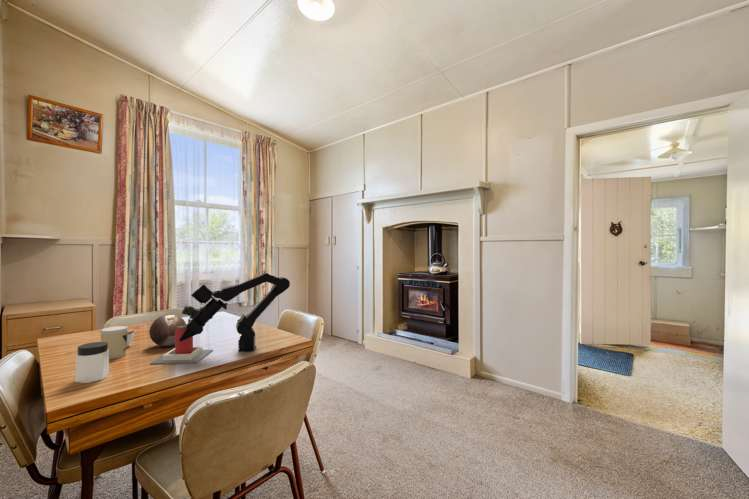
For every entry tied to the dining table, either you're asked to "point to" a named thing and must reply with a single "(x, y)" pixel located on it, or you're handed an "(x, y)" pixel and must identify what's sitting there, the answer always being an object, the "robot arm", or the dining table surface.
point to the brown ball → (165, 329)
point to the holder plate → (182, 357)
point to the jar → (92, 362)
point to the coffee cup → (115, 340)
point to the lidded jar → (129, 336)
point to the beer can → (184, 345)
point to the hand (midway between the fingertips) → (180, 338)
